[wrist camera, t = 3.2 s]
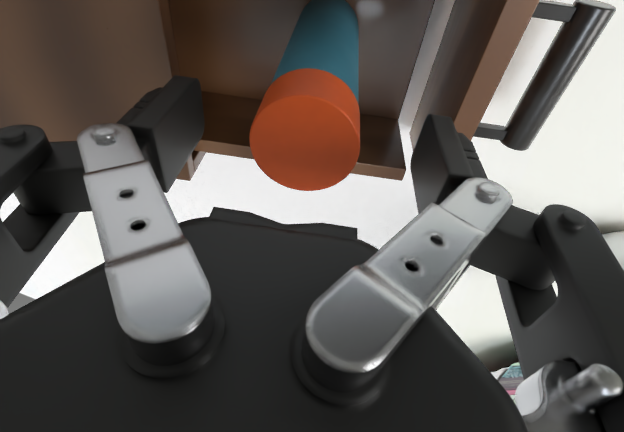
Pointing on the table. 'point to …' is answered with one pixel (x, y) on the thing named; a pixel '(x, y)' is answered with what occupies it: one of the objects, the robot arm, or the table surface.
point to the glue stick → (312, 102)
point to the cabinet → (82, 63)
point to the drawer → (383, 66)
